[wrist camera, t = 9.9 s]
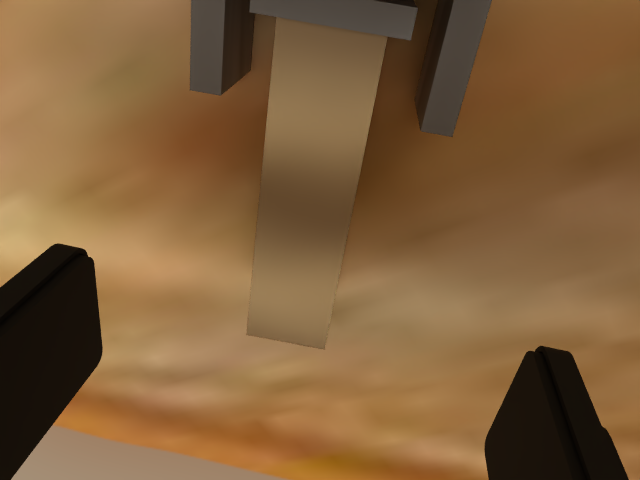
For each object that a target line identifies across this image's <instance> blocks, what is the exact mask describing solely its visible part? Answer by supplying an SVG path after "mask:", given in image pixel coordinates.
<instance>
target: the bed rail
mask: <svg viewBox="0 0 640 480" xmlns="http://www.w3.org/2000/svg"><path fill="white" fill-rule="evenodd" d="M417 10H418V7H417V5H416V4H415V2H414V0H250V12H251V13H256V14H262V15H268V16H274V17H276V28H275V38H274V49H273V59H272V70H271V80H270V91H269V101H268V112H267V122H266V133H265V143H264V154H263V164H262V175H261V185H260V196H259V207H258V217H257V228H256V238H255V249H254V259H253V270H252V280H251V291H250V301H249V312H248V322H247V333H246V335H251V336H256V337H261V338H266V339H271V340H277V341H282V342H287V343H292V344H298V345H303V346H308V347H313V348H318V349H324V350H325V345H326V340H327V335H328V330H329V325H330V320H331V315H332V310H333V305H334V300H335V295H336V290H337V285H338V280H339V275H340V270H341V265H342V260H343V255H344V250H345V246H346V241H347V236H348V231H349V226H350V221H351V216H352V211H353V206H354V201H355V196H356V191H357V186H358V181H359V176H360V171H361V166H362V161H363V156H364V151H365V146H366V141H367V136H368V131H369V127H370V122H371V117H372V112H373V107H374V102H375V97H376V92H377V87H378V82H379V77H380V72H381V67H382V62H383V57H384V52H385V47H386V42H387V37H394V38H399V39H405V40H411V37H412V32H413V28H414V24H415V19H416V15H417Z"/></svg>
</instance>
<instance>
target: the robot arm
mask: <svg viewBox="0 0 640 480" xmlns="http://www.w3.org/2000/svg"><path fill="white" fill-rule="evenodd" d="M101 356H102V338H101V328H100V318H99V308H98V298H97V288H96V277H95V267H94V261H93V259H92V258H91V257H88V255H87V252H86V251H85V250H84V249H82V248H77V247H73V246H68V245H63V244H54V245H53V246H51V247H50V248H49V249H47V250H46V251H45V252H44V253H42V254H41V255H40V256H39V257H37V258H36V259H35V260H34V261H32V262H31V263H30V264H29V265H28V266H26V267H25V268H24V269H23V270H21V271H20V272H19V273H18V274H16V275H15V276H14V277H13V278H12V279H10V280H9V281H8V282H7V283H5V284H4V285H3V286H2V287H0V480H11V479H12V477H13V476H14V474H15V473H16V472H17V471H18V469H19V468H20V467H21V465H22V464H23V463H24V461H25V460H26V459H27V457H28V456H29V455H30V453H31V452H32V451H33V449H34V448H35V447H36V446H37V444H38V443H39V442H40V440H41V439H42V438H43V436H44V435H45V434H46V433H47V431H48V430H49V428H50V427H51V426H52V425H53V423H54V422H55V421H56V419H57V418H58V417H59V415H60V414H61V413H62V412H63V410H64V409H65V408H66V406H67V405H68V404H69V402H70V401H71V400H72V398H73V397H74V396H75V394H76V393H77V392H78V390H79V389H80V388H81V387H82V385H83V384H84V383H85V381H86V380H87V379H88V377H89V376H90V375H91V373H92V372H93V371H94V369H95V368H96V367H97V365H98V364H99V362H100V359H101ZM485 458H486V464H487V471H488V477H489V480H629V479H628V477H627V474H626V472H625V469H624V467H623V465H622V462H621V460H620V458H619V455H618V453H617V450H616V448H615V446H614V443H613V441H612V439H611V437H610V435H609V433H608V431H607V430H606V429H605V428H604V427H603V426H601V423H600V421H599V419H598V416H597V414H596V411H595V409H594V406H593V404H592V402H591V399H590V397H589V394H588V392H587V389H586V387H585V385H584V382H583V380H582V377H581V375H580V372H579V370H578V368H577V365H576V363H575V360H574V358H573V356H572V354H571V353H570V352H568V351H563V350H558V349H554V348H549V347H544V346H539V347H538V348H537V349H536V350H535V352H534V351H528V352H527V353H526V354H525V356H524V358H523V360H522V363H521V365H520V367H519V369H518V371H517V373H516V375H515V377H514V379H513V382H512V384H511V386H510V388H509V390H508V392H507V394H506V396H505V398H504V400H503V403H502V405H501V407H500V409H499V411H498V413H497V415H496V417H495V419H494V422H493V424H492V426H491V428H490V430H489V432H488V434H487V437H486V441H485Z"/></svg>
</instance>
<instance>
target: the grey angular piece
mask: <svg viewBox="0 0 640 480" xmlns="http://www.w3.org/2000/svg"><path fill="white" fill-rule="evenodd" d="M491 1H492V0H438V4H437V8H436V12H435V17H434V21H433V25H432V29H431V33H430V37H429V41H428V46H427V50H426V54H425V58H424V62H423V66H422V71H421V75H420V79H419V83H418V87H417V91H416V96H415V105H416V110H417V115H418V120H419V125H420V130H421V131H422V132H427V133H433V134H439V135H444V136H450V137H452V136H453V133H454V129H455V126H456V122H457V119H458V115H459V112H460V109H461V105H462V102H463V98H464V95H465V91H466V88H467V84H468V81H469V77H470V74H471V70H472V67H473V64H474V60H475V57H476V53H477V50H478V46H479V43H480V39H481V36H482V32H483V29H484V25H485V22H486V19H487V15H488V12H489V8H490V5H491ZM254 14H255V13H251V12H250V0H191V55H190V90H192V91H198V92H203V93H209V94H215V95H220V96H221V95H222V94H223V93H224V92H226V91H227V90H228V89H229V88H230V87H232V86H233V85H234V84H235V83H236V82H237V81H239V80H240V79H241V78H242V77H243V76H244V75H246V74H247V73H248V72H249V71H250V69H251V55H252V41H253V28H254Z"/></svg>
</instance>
